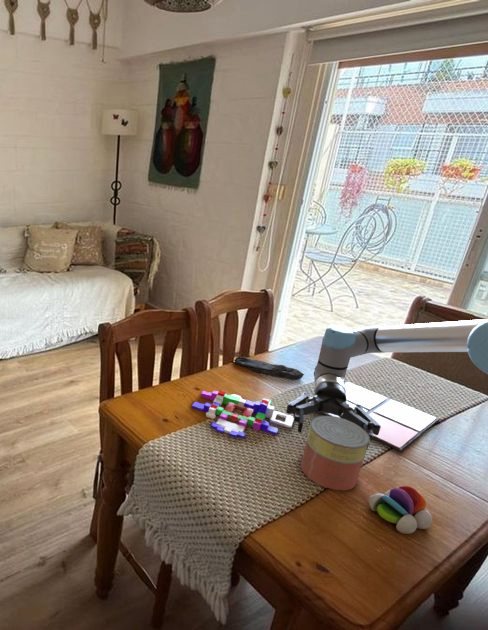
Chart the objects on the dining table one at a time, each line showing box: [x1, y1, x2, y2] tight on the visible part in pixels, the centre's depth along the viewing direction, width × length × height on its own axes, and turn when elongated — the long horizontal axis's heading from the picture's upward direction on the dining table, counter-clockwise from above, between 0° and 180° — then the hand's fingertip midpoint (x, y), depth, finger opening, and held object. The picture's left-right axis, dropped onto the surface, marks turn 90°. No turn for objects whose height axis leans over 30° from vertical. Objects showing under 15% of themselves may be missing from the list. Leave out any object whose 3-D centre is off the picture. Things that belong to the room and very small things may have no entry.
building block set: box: [191, 390, 295, 439], centre depth 120 cm, size 25×20×4 cm
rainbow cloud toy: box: [368, 485, 433, 535], centre depth 87 cm, size 8×10×7 cm
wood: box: [230, 356, 305, 381], centre depth 145 cm, size 22×7×3 cm, turn 55°
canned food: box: [300, 415, 371, 491], centre depth 98 cm, size 11×11×12 cm
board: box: [308, 381, 440, 453], centre depth 122 cm, size 24×24×1 cm
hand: (332, 435), depth 103 cm, fingers open, 13 cm apart
